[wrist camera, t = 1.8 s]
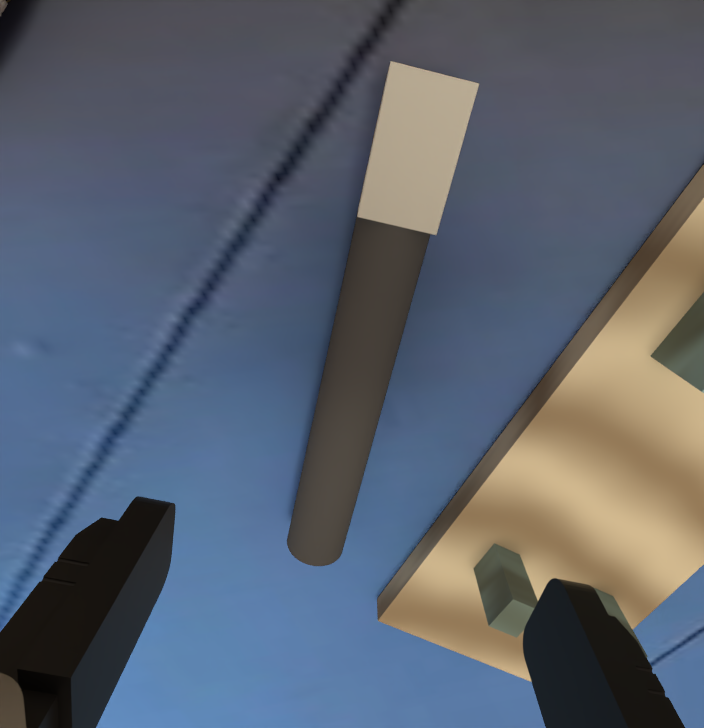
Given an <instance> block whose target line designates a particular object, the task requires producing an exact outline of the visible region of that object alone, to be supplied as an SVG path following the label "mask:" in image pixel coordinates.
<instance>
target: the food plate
mask: <svg viewBox="0 0 704 728" xmlns="http://www.w3.org/2000/svg"><path fill="white" fill-rule="evenodd" d="M10 1H11V0H8V1H5V0H0V16H1V13H2V12H3V11H4V9H5V8H6V6H7V5H8V4H7V2H10Z"/></svg>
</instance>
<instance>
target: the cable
mask: <svg viewBox="0 0 704 728" xmlns="http://www.w3.org/2000/svg"><path fill="white" fill-rule="evenodd" d="M478 86H479V84H478V83H474V82H470V81H467V80H463V79H459V78H455V77H451V76H447V75H443V74H439V73H435V72H431V71H427V70H423V69H419V68H415V67H411V66H408V65H404V64H400V63H396V62H392V61H391V63H390V66H389V70H388V73H387V77H386V82H385V86H384V91H383V95H382V100H381V105H380V109H379V114H378V119H377V123H376V128H375V133H374V137H373V142H372V146H371V151H370V156H369V160H368V165H367V170H366V174H365V179H364V184H363V188H362V193H361V198H360V202H359V207H358V213H357V218H356V223H355V227H354V232H353V237H352V241H351V246H350V250H349V255H348V260H347V264H346V269H345V274H344V278H343V283H342V288H341V292H340V297H339V301H338V306H337V311H336V315H335V320H334V325H333V329H332V334H331V338H330V343H329V348H328V352H327V357H326V362H325V366H324V371H323V376H322V380H321V385H320V389H319V394H318V399H317V403H316V408H315V413H314V417H313V422H312V427H311V431H310V436H309V440H308V445H307V450H306V454H305V459H304V464H303V468H302V473H301V477H300V482H299V487H298V491H297V496H296V501H295V505H294V510H293V515H292V519H291V524H290V528H289V533H288V538H287V545H288V548H289V550H290V552H291V554H292V555H293V556H294V557H295V558H297V559H298V560H299V561H301V562H303V563H305V564H308V565H312V566H325V565H329V564H331V563H333V562H335V561H336V560H337V559H338V558H339V557H340V556H341V554H342V550H343V547H344V543H345V539H346V536H347V532H348V529H349V525H350V521H351V518H352V514H353V511H354V507H355V503H356V500H357V496H358V493H359V489H360V485H361V482H362V478H363V475H364V471H365V467H366V464H367V460H368V457H369V453H370V449H371V446H372V442H373V439H374V435H375V431H376V428H377V424H378V421H379V417H380V413H381V410H382V406H383V403H384V399H385V395H386V392H387V388H388V385H389V381H390V377H391V374H392V370H393V367H394V363H395V359H396V356H397V352H398V349H399V345H400V341H401V338H402V334H403V331H404V327H405V323H406V320H407V316H408V313H409V309H410V305H411V302H412V298H413V295H414V291H415V287H416V284H417V280H418V277H419V273H420V269H421V266H422V262H423V259H424V255H425V251H426V248H427V244H428V241H429V237H430V234H433V235H436V234H437V231H438V227H439V224H440V220H441V217H442V213H443V210H444V206H445V203H446V199H447V196H448V192H449V188H450V185H451V181H452V178H453V174H454V171H455V167H456V164H457V160H458V157H459V153H460V150H461V146H462V143H463V139H464V135H465V132H466V128H467V125H468V121H469V118H470V114H471V111H472V107H473V104H474V100H475V97H476V93H477V89H478Z"/></svg>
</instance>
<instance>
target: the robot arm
mask: <svg viewBox="0 0 704 728" xmlns="http://www.w3.org/2000/svg"><path fill="white" fill-rule="evenodd" d="M174 521H175V504H174V503H170V502H165V501H160V500H154V499H149V498H144V497H139V496H138V497H136V498H135V499H134V500H133V501H132V502H131V504H130V505H129V507H128V508H127V509H126V511H125V512H124V514H123V515H122V517H121V518H120V520H119V521H117V520H112V519H106V518H100V519H99V520H97V521H96V522H94V523H93V524H91V525H90V526H88V527H87V528H85V529H84V530H82V531H81V532H79V533H78V534H76V535H75V537H74V538H73V539H72V541H71V542H70V543H69V544H68V546H67V547H66V548H65V550H64V551H63V552H62V553H61V555H60V556H59V558H58V561H57V562H55V563H54V564H53V565H52V566H51V568H50V569H49V570H48V572H47V573H46V574H45V575H44V578H43V580H42V582H39V583H38V584H37V586H36V587H35V588H34V590H33V591H32V592H31V593H30V595H29V596H28V597H27V599H26V600H25V601H24V602H23V604H22V605H21V606H20V608H19V609H18V610H17V611H16V613H15V614H14V615H13V617H12V618H11V619H10V621H9V622H8V623H7V624H6V626H5V627H4V628H3V630H2V631H1V632H0V728H96V726H97V724H98V722H99V720H100V718H101V716H102V714H103V712H104V710H105V708H106V705H107V703H108V701H109V699H110V697H111V695H112V693H113V691H114V689H115V687H116V685H117V682H118V680H119V678H120V676H121V674H122V672H123V670H124V668H125V666H126V664H127V662H128V660H129V657H130V655H131V653H132V651H133V649H134V647H135V645H136V643H137V641H138V639H139V637H140V634H141V632H142V630H143V628H144V626H145V624H146V622H147V620H148V618H149V616H150V614H151V612H152V609H153V607H154V605H155V603H156V601H157V599H158V597H159V595H160V593H161V591H162V588H163V586H164V583H165V581H166V577H167V574H168V571H169V567H170V562H171V555H172V544H173V533H174ZM523 653H524V658H525V662H526V665H527V668H528V671H529V675H530V678H531V681H532V684H533V688H534V691H535V694H536V697H537V701H538V704H539V707H540V710H541V714H542V717H543V720H544V723H545V726H546V728H685V727H684V725H683V723H682V721H681V720H680V718H679V716H678V714H677V712H676V710H675V709H674V707H673V705H672V703H671V701H670V700H669V698H667V697H665V691H664V689H663V687H662V685H661V683H660V682H659V680H658V678H657V676H656V674H653V673H652V667H651V665H650V663H649V662H648V660H647V658H646V656H645V654H644V653H643V651H642V649H641V647H640V645H639V643H638V642H637V640H636V639H635V638H634V637H633V636H632V635H631V634H630V633H629V632H628V630H627V629H626V628H625V627H624V626H623V625H622V624H621V623H620V621H619V620H618V619H617V618H616V617H615V616H610V615H608V613H607V611H606V609H605V607H604V605H603V603H602V601H601V600H600V598H599V596H598V594H597V592H596V590H595V589H594V588H593V587H592V586H590V585H588V584H583V583H578V582H572V581H567V580H562V579H557V578H553V579H551V580H550V581H549V582H548V583H547V585H546V587H545V589H544V591H543V593H542V595H541V597H540V598H539V600H538V602H537V604H536V606H535V608H534V610H533V612H532V614H531V616H530V618H529V620H528V622H527V624H526V626H525V629H524V633H523Z"/></svg>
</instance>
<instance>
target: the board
mask: <svg viewBox="0 0 704 728" xmlns="http://www.w3.org/2000/svg"><path fill="white" fill-rule="evenodd" d="M703 564H704V164H703V166H702V167H701V168H700V170H699V171H698V172H697V174H696V175H695V176H694V178H693V179H692V180H691V182H690V183H689V184H688V186H687V187H686V188H685V190H684V191H683V192H682V194H681V195H680V196H679V198H678V199H677V200H676V202H675V203H674V204H673V206H672V207H671V208H670V210H669V211H668V212H667V214H666V215H665V216H664V218H663V219H662V220H661V222H660V223H659V224H658V226H657V227H656V228H655V230H654V231H653V232H652V234H651V235H650V236H649V238H648V239H647V240H646V242H645V243H644V244H643V246H642V247H641V248H640V250H639V251H638V252H637V254H636V255H635V256H634V258H633V259H632V260H631V262H630V263H629V264H628V266H627V267H626V268H625V270H624V271H623V272H622V274H621V275H620V276H619V278H618V279H617V280H616V282H615V283H614V284H613V286H612V287H611V288H610V290H609V291H608V292H607V294H606V295H605V296H604V298H603V299H602V300H601V302H600V303H599V304H598V306H597V307H596V308H595V310H594V311H593V312H592V314H591V315H590V316H589V317H588V319H587V320H586V321H585V323H584V324H583V325H582V327H581V328H580V329H579V331H578V332H577V333H576V335H575V336H574V337H573V339H572V340H571V341H570V343H569V344H568V345H567V347H566V348H565V349H564V351H563V352H562V353H561V355H560V356H559V357H558V359H557V360H556V361H555V363H554V364H553V365H552V367H551V368H550V369H549V371H548V372H547V373H546V375H545V376H544V377H543V379H542V380H541V381H540V383H539V384H538V385H537V387H536V388H535V389H534V391H533V392H532V393H531V395H530V396H529V397H528V399H527V400H526V401H525V403H524V404H523V405H522V407H521V408H520V409H519V411H518V412H517V413H516V415H515V416H514V417H513V419H512V420H511V421H510V423H509V424H508V425H507V427H506V428H505V429H504V431H503V432H502V433H501V435H500V436H499V437H498V439H497V440H496V441H495V443H494V444H493V445H492V447H491V448H490V449H489V451H488V452H487V453H486V455H485V456H484V457H483V459H482V460H481V461H480V463H479V464H478V465H477V467H476V468H475V469H474V471H473V472H472V473H471V475H470V476H469V477H468V479H467V480H466V481H465V483H464V484H463V485H462V487H461V488H460V489H459V491H458V492H457V493H456V495H455V496H454V497H453V499H452V500H451V501H450V503H449V504H448V505H447V507H446V508H445V509H444V511H443V512H442V513H441V515H440V516H439V517H438V519H437V520H436V521H435V523H434V524H433V525H432V527H431V528H430V529H429V531H428V532H427V533H426V535H425V536H424V537H423V539H422V540H421V541H420V543H419V544H418V545H417V547H416V548H415V549H414V551H413V552H412V553H411V555H410V556H409V557H408V559H407V560H406V561H405V563H404V564H403V565H402V567H401V568H400V569H399V571H398V572H397V573H396V575H395V576H394V577H393V579H392V580H391V581H390V583H389V584H388V585H387V587H386V588H385V589H384V591H383V592H382V593H381V594H380V596H379V597H378V598H377V611H378V621H380V622H382V623H385V624H387V625H390V626H392V627H395V628H397V629H400V630H402V631H405V632H407V633H410V634H412V635H415V636H417V637H420V638H422V639H425V640H428V641H430V642H433V643H435V644H438V645H440V646H443V647H445V648H448V649H450V650H453V651H455V652H458V653H460V654H463V655H465V656H468V657H470V658H473V659H475V660H478V661H480V662H483V663H485V664H488V665H491V666H493V667H496V668H498V669H501V670H503V671H506V672H508V673H511V674H513V675H516V676H518V677H521V678H523V679H526V680H528V681H531V678H530V675H529V671H528V668H527V665H526V662H525V658H524V653H523V633H524V629H525V626H526V624H527V622H528V620H529V618H530V616H531V614H532V612H533V610H534V608H535V606H536V604H537V602H538V600H539V598H540V597H541V595H542V593H543V591H544V589H545V587H546V585H547V583H548V582H549V581H550V580H551V579H553V578H557V579H562V580H567V581H572V582H578V583H583V584H588V585H590V586H592V587H593V588H594V589H595V590H596V592H597V594H598V596H599V598H600V600H601V601H602V603H603V605H604V607H605V609H606V611H607V613H608V615H610V616H615V617H616V618H617V619H618V620H619V621H620V623H621V624H622V625H623V626H624V627H625V628H626V629H627V630H628V632H629V633H630V634H631V635H632V636H633V637H634V638H635V639H636V640H637V642H638V643H639V645H640V647H641V649H642V651H643V653H644V654H645V656H646V658H647V657H648V656H647V655H646V653H645V651H644V649H643V648H642V646H641V644H640V642H639V641H638V639H637V637H636V635H635V633H634V632H633V629H634V628H635V627H636V626H637V625H638V624H639V623H640V622H641V621H642V620H643V619H645V618H646V617H647V616H648V615H649V614H650V613H651V612H652V611H653V610H654V609H655V608H657V607H658V606H659V605H660V604H661V603H662V602H663V601H664V600H665V599H666V598H667V597H668V596H670V595H671V594H672V593H673V592H674V591H675V590H676V589H677V588H678V587H679V586H680V585H682V584H683V583H684V582H685V581H686V580H687V579H688V578H689V577H690V576H691V575H692V574H693V573H695V572H696V571H697V570H698V569H699V568H700V567H701V566H702V565H703ZM531 682H532V681H531Z"/></svg>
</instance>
